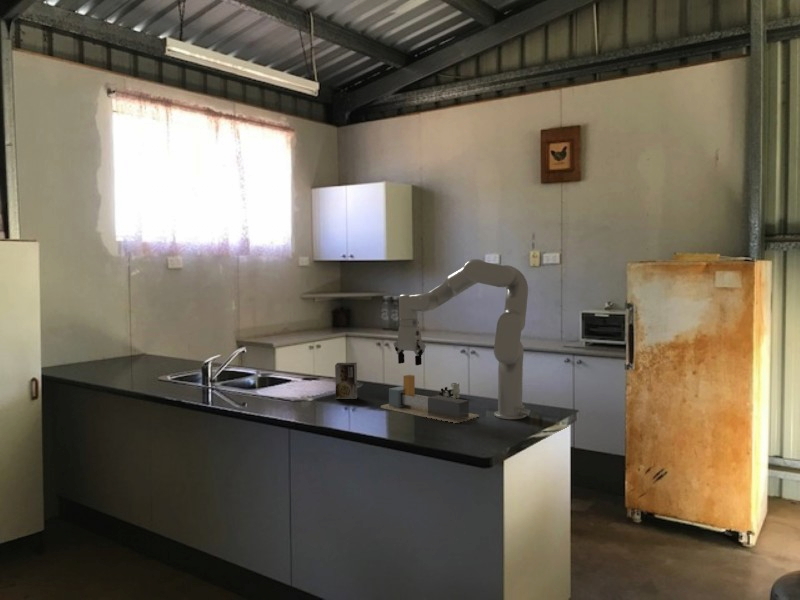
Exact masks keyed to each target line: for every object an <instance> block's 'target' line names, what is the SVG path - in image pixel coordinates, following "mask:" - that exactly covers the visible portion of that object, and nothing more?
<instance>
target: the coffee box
mask: <svg viewBox="0 0 800 600" xmlns="http://www.w3.org/2000/svg"><path fill="white" fill-rule="evenodd" d="M357 367H358V366H357V362H337V363H336V364H335V365H334V374H335V375H334V376H335V377H334V378H335V380H334V381H335V400H336V399H356V400H357V398H358V384H357V383H358V377H357V376H358V374H357V371H358V370H357Z"/></svg>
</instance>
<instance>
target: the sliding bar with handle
mask: <svg viewBox="0 0 800 600" xmlns="http://www.w3.org/2000/svg"><path fill="white" fill-rule="evenodd" d="M415 378H416V377H415V375H414V374H405V375H403V386H404V393H401V404H405V405H410V406H415V407H420V408H425V409H428V397H429V396H426V395H419V394H415V393H416V392H415V389H416V388H415V387H416V386H415V384H416V383H415V381H416V380H415Z"/></svg>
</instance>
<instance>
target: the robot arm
mask: <svg viewBox="0 0 800 600" xmlns="http://www.w3.org/2000/svg"><path fill="white" fill-rule="evenodd" d="M478 283H479V284H483V285H487V286H492V287H497V288H506V296H505V301H504V310H503V313H502V314H501V315H500V316H499V318H498V320H497V324H496V329H495V337H494V344H493V354H494V357H495V359H496V360H497V361H498V368H497V369H498V370H497V371H498V372H497V376H498V377H497V392H498V393H497V409H498V410H496V411H494V412H493V415H494V417H495V416H496V418H498V419H502V420H522V419H525V418H526V417H527V416H530V414H531V410H530V409H528V408H526V407H525V405H523V375H524V374H523V371H524V370H523V366H524V364H523V363H524V351H525V350H524V345H523V343H522V342H521V335H522V331H523V330H524V328H525V326H526V316H527V307H528V306H527V305H528V295H529V285H528V281H527V279H526V276H525V275H524V274H523V273H522V271H520V270H519V269H517V268H516V267H514V266H513V265H509V264H508V265H507V264H506V265H505V264H504V265H502V264H496V263H491V262H486V261H484V260H483V259H478V258H475V259H470V260H468V261H467V262H465V264H464V266H462V267H461V268H459V269H457V270H456V271H454V272H452V273H451V274H449V275H448V276H446V277H445V280H444V281H443V282H442V283H441V284H440V285H438V286H436V287H435V288H433V289H432V290H430V291H429V292H424V293H418V294H415V293H401V294H400V295H399V297H398V312H399V313H398V314H399V326H398V332H397V340H396V341H395V342H394V343H393V348H394V349H395V351H396V354H397V359H398V362H397V363H398V364H404V363H405V353H404V352H405V351H408V352H409V351H410V352H414V353H415V356H414V357H415V358H414V360H415V361H414V364H415V366H422V356H423V354H424V352H425V349H426V347H427V346H426V344H424V343H423V342H422V332H421V329H420V326H418V325H419V323H420V322H419V320H418V312H421V313H422V312H429V311H432V310H433V311H434V310H435V309H437V308H439V307H440V306H442V305H444V304H445V303H447V302H449V301H450V300H452V299H453V298H455V297H457V296H459V294H461V293H463V292H465V291H466V290H468V289H470V288H471V287H473V286H474V285H476V284H478Z"/></svg>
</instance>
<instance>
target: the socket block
mask: <svg viewBox="0 0 800 600" xmlns="http://www.w3.org/2000/svg"><path fill="white" fill-rule="evenodd" d="M401 393H404V385H401V386H396V387H392V388H391V387H390V388H388V404H389V405H391V406H396V407H400V406H405V404H401Z"/></svg>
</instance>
